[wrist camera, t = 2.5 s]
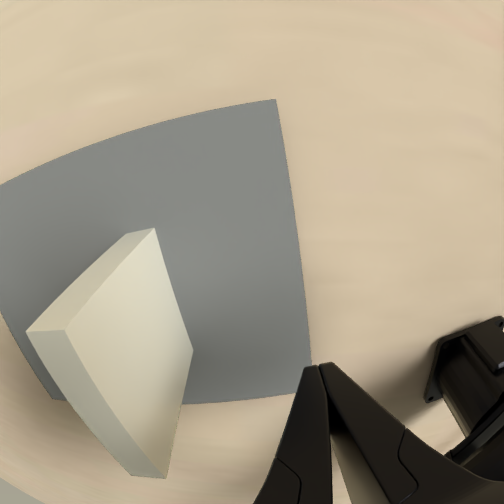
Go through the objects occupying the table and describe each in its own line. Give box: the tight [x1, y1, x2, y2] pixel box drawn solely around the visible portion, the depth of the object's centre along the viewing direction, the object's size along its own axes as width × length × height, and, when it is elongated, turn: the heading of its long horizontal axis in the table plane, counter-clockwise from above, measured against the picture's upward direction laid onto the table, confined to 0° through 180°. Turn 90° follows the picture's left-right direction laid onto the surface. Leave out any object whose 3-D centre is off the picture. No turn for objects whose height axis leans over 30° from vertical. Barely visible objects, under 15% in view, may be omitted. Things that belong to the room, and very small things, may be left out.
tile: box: [26, 228, 193, 479], centre depth 11 cm, size 7×2×8 cm, turn 10°
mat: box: [0, 99, 312, 404], centre depth 15 cm, size 16×20×1 cm
